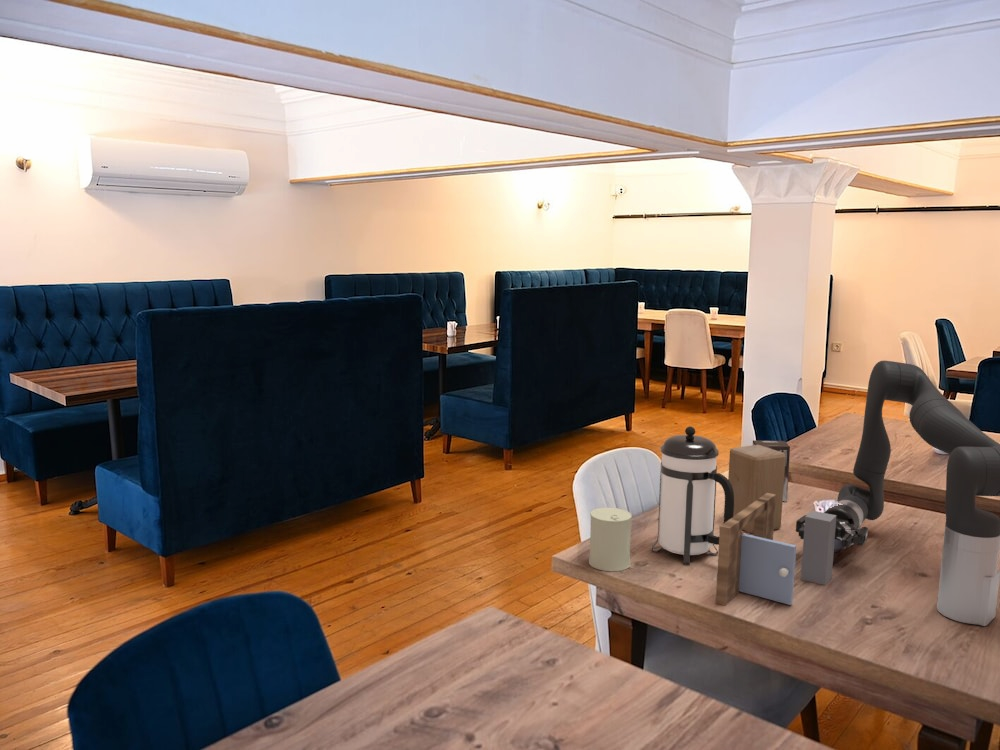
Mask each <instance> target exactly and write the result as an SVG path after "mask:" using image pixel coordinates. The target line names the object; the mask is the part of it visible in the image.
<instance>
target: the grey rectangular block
mask: <svg viewBox="0 0 1000 750" xmlns="http://www.w3.org/2000/svg"><path fill="white" fill-rule="evenodd" d="M806 515H807V516H805V527H804V539H803V541H802V542H803V543H802V558H801V570H800V571H801V573H800V574H801V575H800V580H801V581H802V580H803V581H806V582H811V583H814V584H818V585H822V586H827V584H828V583H827V582H829V581H831V579H832V576H833V563H834V555H835V554H834V553H835V552H834V551H835V541H836V540H835V528H836V516H837V515H832V514H827V513H824V512H823V511H822V512H821V511H817V510H811V511H810V512H809V513H807V514H806Z"/></svg>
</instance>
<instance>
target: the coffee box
mask: <svg viewBox="0 0 1000 750" xmlns="http://www.w3.org/2000/svg"><path fill="white" fill-rule="evenodd" d="M752 445H761V446H764V447H767V448H770V449H773V450H777V451H780V452H783V453H784V454H785V456H786V457H785V472H784V486H783V501H784V502H785V503H786V502H788V494H789V493H788V491H789V475H790V454H791V446H790V445H789V443H787V442H786V441H785V440H752Z"/></svg>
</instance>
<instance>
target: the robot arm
mask: <svg viewBox="0 0 1000 750" xmlns="http://www.w3.org/2000/svg"><path fill="white" fill-rule="evenodd" d="M885 400H886V401H891V402H899V403H904V404H905V403H906V404H909V405H911V408H910V411H909V423H910V424H911V427H912V428H913V429H914V431H915V432H916V433H917V435H918V436H919V437H920V438H921V439H922V440H923V441H925V443H926V444H928V445H930V447H932V448H934V449H936V450H939V451H941V452H944V453H946V454H947V455H948V458H947V463H946V464H947V465H946V474H945V475H946V481H945V500H944V501H945V502H944V511H945V526H944V527H945V528H944V534H943V535H944V536H943V542H942V543H943V544H942V553H941V554H942V555H941V564H940V571H939V572H940V573H939V583H938V584H939V585H938V592H937V593H938V594H937V604H936V610H937V611H938V612H939V613H940V614H941V615H942V616H944V617H947V618H948V619H951V620H953V621H956V622H959V623H964V624H969V625H979V626H982V627H986V626H988V625H989V624H990V623H991V622H992V621H993V620H994V619H995V618H996V613H997V603H998V596H999V586H1000V569H999V568H998V567H999V566H998V565H999V557H1000V517H999V516H998V515H997V514H995V513H994V512H990V511H988V510H985V509H982V508H979V507H977V506H976V497H1000V443H999V442H997V440H994V439H993V438H992V437H990V436H989V435H987V434H986V433H984V432H983V431H982V430H981V429H980V428H979V427H977V426H976V425H975V424H974V423H973V422H972V421H971V420H970V419H969V418H967V416H966V415H964V413H962V411H961V410H960V409H959V408H957V407H956V405H954V403H953V402H951V401H950V400H949V399H947V397H945V395H944V394H942V393H941V392H940V390H939V389H937V387H936V386H935V385H934V384H933V382H932V381H931V380H930V378H929V376H928V375H927V374H926V372H925V371H924V370H923V369H921V367H919V366H918V365H916V364H911V363H906V362H900V361H899V362H898V361H891V360H880V361H878V362H877V363H875V365H874V366H873V368H872V370H871V372H870V375H869V380H868V386H867V392H866V400H865V406H864V407H865V408H864V416H863V417H864V418H863V427H862V434H861V438H860V439H861V440H860V444H859V448H858V452H857V454H856V455H857V456H856V457H855V458H856V459H855V462H854V466H853V470H852V473H853V476H854V477H855V478H857V480H860V481H861V482H863V483H865V484H866V485H867V487H868V488H869V489H867V488H865V487H861V486H858V485H856V484H852V483H851V484H844V485H843V486H842V487H841V488H840V489H839V492H838V495H837V501H838V503H841V504H843V505H839V504H838V506H834V507H832V508H830V507H828V509H827V510H825V511H824V512H823V513H827V514H832V515H837V516H836V528H835V541H841V543H840V544H841V546H840V547H841V549H844V550H845V549H846V548H849V547H850V546H852V545H853V546H854V545H855V544H856V546H859V547H863V546H864V545H865V543H866V542H867V540H868V532H869V527H866V526H861V525H862V524H863V523H864V522H865V521H866V520H868V521H875V520H877V519H879V518H880V517H881V516H882V514H883V512H884V507H885V499H884V497H885V496H884V481H885V476H886V471H887V469H888V466H889V461H890V458H891V451H892V448H891V441H890V438H889V435H888V432H887V429H886V427H885V423H884V419H883V407H884V404H885ZM837 501H836V502H837ZM807 515H808V514H805V515H803V516H801V517H800V518H798V519H797V520H796V521H795V522H796V523H795V532H796V533H798V537H800V540H804V527H805V516H807ZM860 527H861V528H860Z"/></svg>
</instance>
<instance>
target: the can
mask: <svg viewBox="0 0 1000 750" xmlns="http://www.w3.org/2000/svg"><path fill="white" fill-rule="evenodd" d="M632 515H633V514H632V513H631V511H628V510H625V509H623V508H618V507H598V508H595V509H593V510H591V511H590V537H589V543H590V544H589V559H588V563H589V565H590V567H592V568H594V569H596V570H599V571H604V572H622V571H625V570H627V569H629V568H630V567H631V533H632V532H631V531H632V517H633V516H632Z"/></svg>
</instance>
